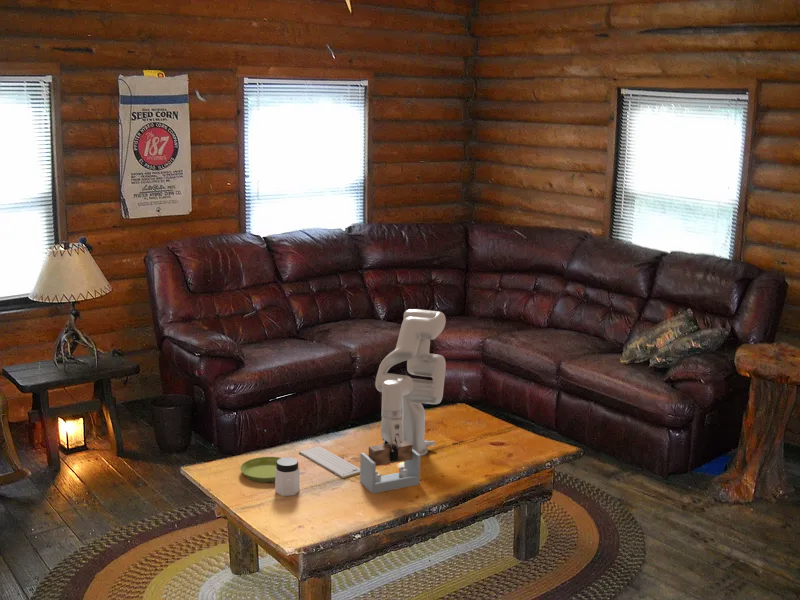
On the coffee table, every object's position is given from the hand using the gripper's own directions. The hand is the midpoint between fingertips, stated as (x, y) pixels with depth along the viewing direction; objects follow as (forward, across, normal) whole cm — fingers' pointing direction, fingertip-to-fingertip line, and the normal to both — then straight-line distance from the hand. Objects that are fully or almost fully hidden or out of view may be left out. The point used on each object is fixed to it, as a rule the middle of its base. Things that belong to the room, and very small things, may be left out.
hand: (390, 457), depth 348 cm
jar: (+11, +9, +38) cm, 41 cm away
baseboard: (+11, +27, +12) cm, 32 cm away
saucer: (+11, +27, +40) cm, 50 cm away
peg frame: (+11, 0, 0) cm, 11 cm away
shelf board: (+1, 0, 0) cm, 1 cm away
